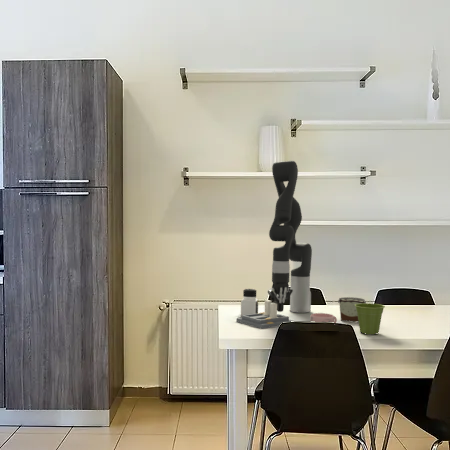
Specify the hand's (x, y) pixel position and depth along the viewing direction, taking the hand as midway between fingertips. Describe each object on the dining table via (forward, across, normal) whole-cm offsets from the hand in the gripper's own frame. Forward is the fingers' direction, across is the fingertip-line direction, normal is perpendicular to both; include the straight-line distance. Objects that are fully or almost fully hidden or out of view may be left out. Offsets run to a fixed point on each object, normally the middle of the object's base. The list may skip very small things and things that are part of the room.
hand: (279, 311), depth 244 cm
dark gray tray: (+5, +5, -4) cm, 8 cm away
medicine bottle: (+5, -1, -22) cm, 23 cm away
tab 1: (+3, +1, -7) cm, 8 cm away
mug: (+5, -8, +19) cm, 21 cm away
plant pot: (+5, -18, +34) cm, 39 cm away
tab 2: (+3, +4, 0) cm, 5 cm away
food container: (+5, -33, +12) cm, 35 cm away
